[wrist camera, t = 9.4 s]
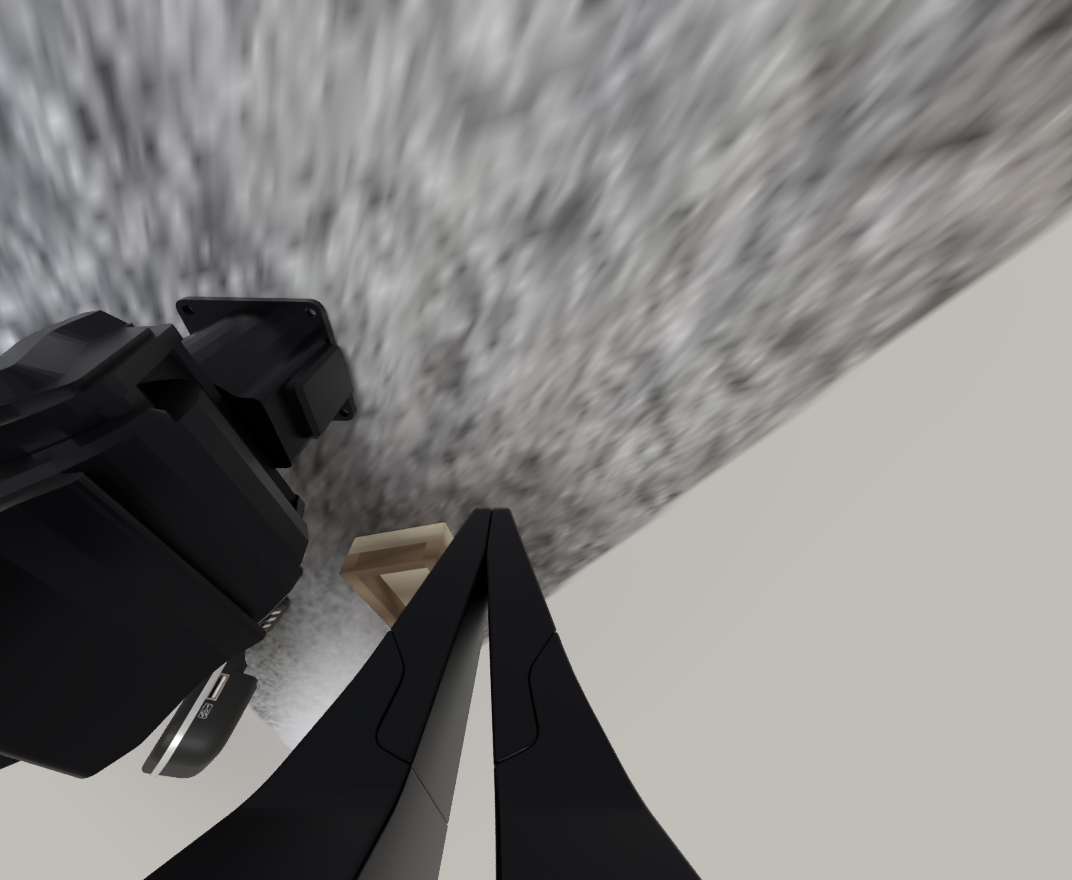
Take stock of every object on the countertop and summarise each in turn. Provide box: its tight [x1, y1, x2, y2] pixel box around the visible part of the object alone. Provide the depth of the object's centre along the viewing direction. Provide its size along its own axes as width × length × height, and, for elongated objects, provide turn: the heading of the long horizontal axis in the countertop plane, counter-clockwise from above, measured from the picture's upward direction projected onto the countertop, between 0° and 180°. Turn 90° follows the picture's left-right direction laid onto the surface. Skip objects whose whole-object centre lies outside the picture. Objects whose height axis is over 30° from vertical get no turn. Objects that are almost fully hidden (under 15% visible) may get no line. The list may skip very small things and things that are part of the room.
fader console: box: [339, 522, 488, 632], centre depth 30 cm, size 10×7×3 cm
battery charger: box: [142, 598, 289, 778], centre depth 30 cm, size 7×4×11 cm, turn 142°
